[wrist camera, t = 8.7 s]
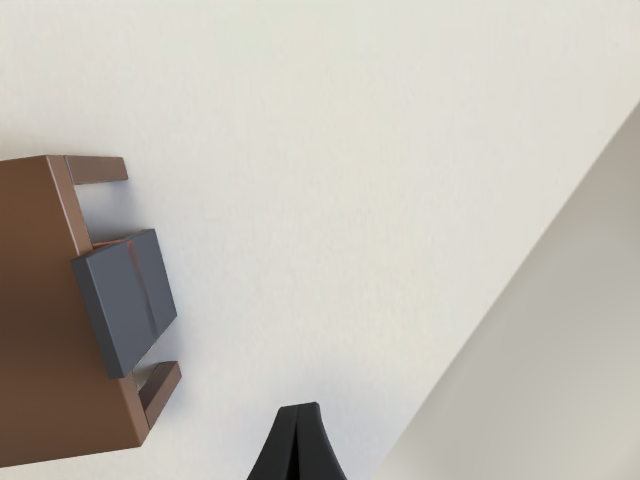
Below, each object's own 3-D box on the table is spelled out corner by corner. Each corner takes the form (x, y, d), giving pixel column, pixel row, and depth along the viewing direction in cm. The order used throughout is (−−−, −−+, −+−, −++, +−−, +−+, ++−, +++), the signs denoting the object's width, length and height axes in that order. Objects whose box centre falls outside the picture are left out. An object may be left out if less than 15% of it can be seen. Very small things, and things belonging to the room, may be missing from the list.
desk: (182, 376, 21) (141, 447, 16) (44, 396, 21) (-44, 475, 16) (123, 157, 18) (46, 154, 12) (-42, 179, 17) (-191, 186, 12)
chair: (177, 315, 20) (125, 378, 14) (80, 329, 20) (-13, 398, 14) (154, 228, 19) (86, 257, 13) (51, 242, 19) (-65, 278, 13)
